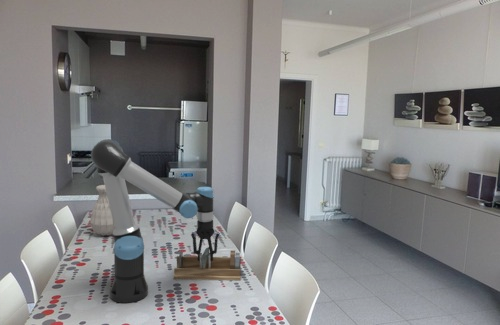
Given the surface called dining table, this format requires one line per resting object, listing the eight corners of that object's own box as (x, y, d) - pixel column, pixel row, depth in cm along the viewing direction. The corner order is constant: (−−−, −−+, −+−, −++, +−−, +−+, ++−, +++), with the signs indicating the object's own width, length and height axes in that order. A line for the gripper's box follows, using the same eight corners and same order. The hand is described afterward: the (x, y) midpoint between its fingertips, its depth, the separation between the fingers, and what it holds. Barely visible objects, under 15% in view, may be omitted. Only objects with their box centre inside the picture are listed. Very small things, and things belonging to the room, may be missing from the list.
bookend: (181, 273, 177) (181, 254, 176) (174, 273, 177) (174, 254, 176) (182, 268, 182) (182, 251, 181) (176, 268, 182) (176, 250, 181)
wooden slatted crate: (240, 280, 175) (240, 257, 173) (173, 279, 174) (173, 255, 173) (240, 270, 187) (241, 248, 185) (177, 268, 186) (177, 246, 184)
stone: (203, 264, 184) (203, 243, 184) (211, 264, 184) (211, 244, 184) (198, 270, 173) (199, 248, 173) (207, 270, 173) (207, 248, 173)
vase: (85, 231, 239) (84, 185, 235) (116, 226, 252) (116, 182, 248) (96, 240, 224) (96, 190, 220) (129, 233, 237) (128, 187, 234)
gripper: (223, 217, 181) (223, 264, 184) (188, 217, 181) (189, 263, 184) (222, 222, 174) (222, 270, 177) (186, 221, 173) (186, 270, 176)
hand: (205, 267), depth 180 cm, fingers closed on stone, 3 cm apart
